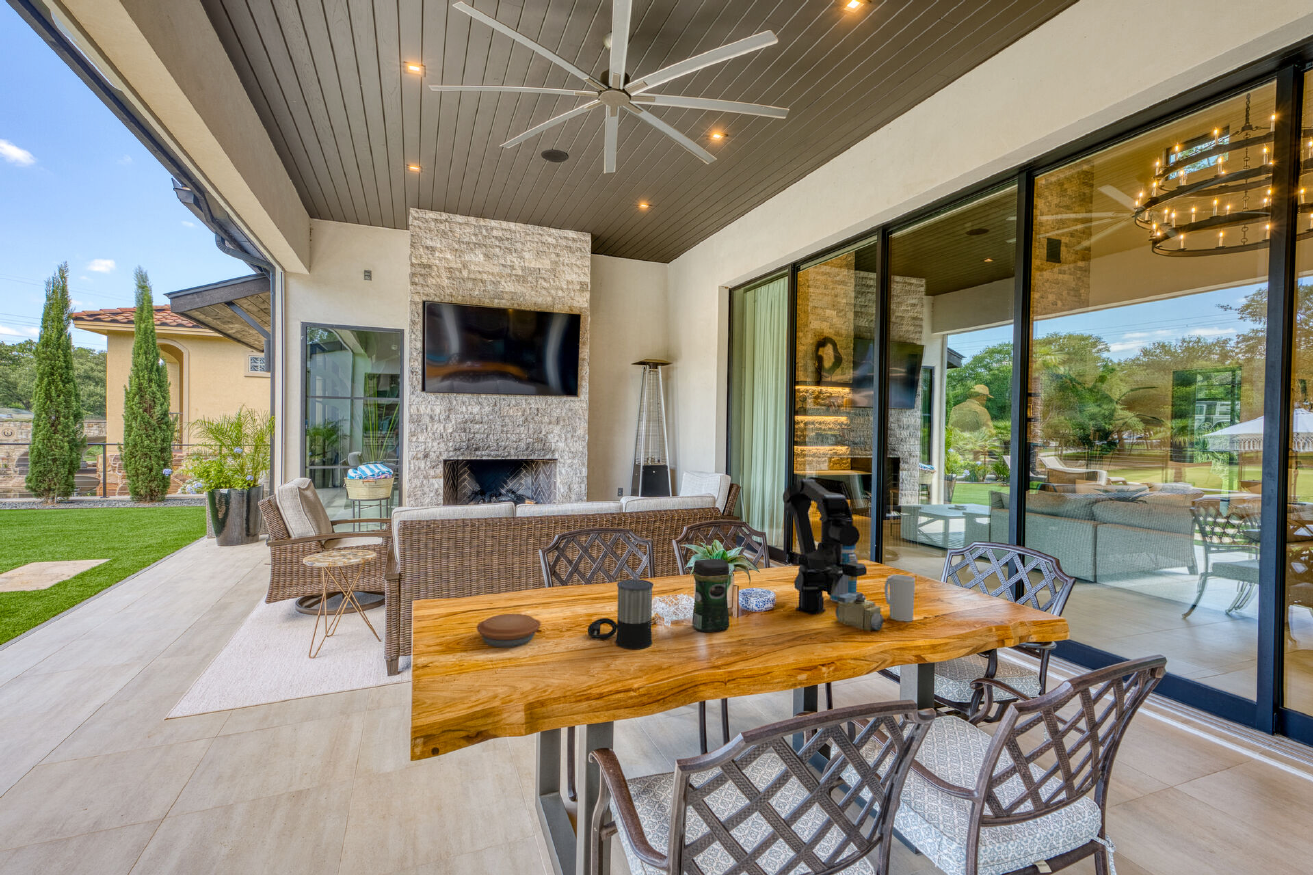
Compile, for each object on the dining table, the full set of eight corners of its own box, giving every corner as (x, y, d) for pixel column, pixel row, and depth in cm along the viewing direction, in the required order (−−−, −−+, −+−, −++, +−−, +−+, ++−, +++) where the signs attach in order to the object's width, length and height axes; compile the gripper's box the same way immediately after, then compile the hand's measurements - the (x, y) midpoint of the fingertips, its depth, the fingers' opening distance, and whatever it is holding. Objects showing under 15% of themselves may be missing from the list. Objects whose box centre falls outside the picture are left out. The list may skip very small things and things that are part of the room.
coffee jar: (719, 621, 160) (720, 555, 160) (733, 630, 153) (734, 561, 153) (687, 624, 157) (689, 557, 157) (700, 634, 150) (702, 563, 150)
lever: (835, 604, 156) (835, 595, 156) (857, 598, 163) (857, 589, 163) (846, 607, 153) (846, 598, 153) (867, 600, 161) (867, 592, 161)
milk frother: (655, 649, 138) (656, 588, 138) (589, 651, 136) (590, 589, 136) (646, 629, 152) (648, 573, 152) (587, 631, 150) (588, 574, 150)
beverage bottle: (831, 603, 181) (832, 540, 181) (827, 596, 190) (829, 535, 190) (859, 605, 180) (860, 541, 180) (854, 597, 188) (855, 537, 188)
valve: (833, 620, 163) (834, 598, 163) (845, 617, 167) (846, 594, 167) (873, 632, 154) (873, 608, 154) (884, 628, 158) (885, 604, 158)
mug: (919, 620, 165) (920, 579, 165) (901, 623, 163) (902, 581, 163) (893, 610, 175) (894, 571, 175) (875, 612, 172) (876, 572, 172)
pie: (517, 655, 133) (518, 633, 133) (462, 645, 138) (463, 624, 138) (552, 634, 147) (552, 614, 147) (501, 626, 153) (501, 607, 153)
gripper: (786, 537, 162) (785, 592, 162) (845, 548, 148) (844, 608, 148) (809, 533, 169) (808, 586, 169) (868, 543, 155) (866, 601, 155)
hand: (830, 595), depth 160 cm, fingers closed
